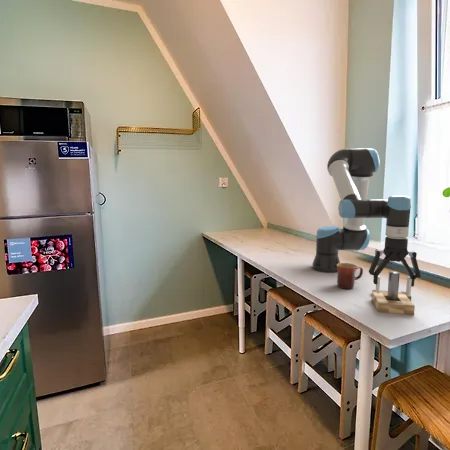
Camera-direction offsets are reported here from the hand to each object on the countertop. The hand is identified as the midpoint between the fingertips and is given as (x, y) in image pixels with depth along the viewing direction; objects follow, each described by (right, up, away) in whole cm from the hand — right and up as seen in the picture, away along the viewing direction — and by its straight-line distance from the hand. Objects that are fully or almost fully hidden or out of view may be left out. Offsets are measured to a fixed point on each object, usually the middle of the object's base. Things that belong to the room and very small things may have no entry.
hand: (392, 293), depth 120 cm
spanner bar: (+5, -4, +11) cm, 13 cm away
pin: (0, -6, +1) cm, 6 cm away
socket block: (0, -6, +1) cm, 6 cm away
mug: (-8, -2, +23) cm, 25 cm away
